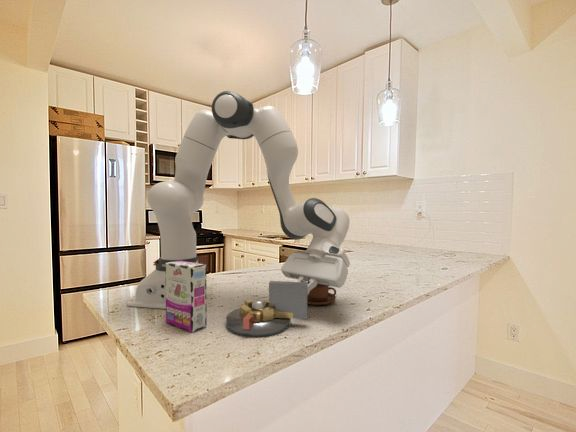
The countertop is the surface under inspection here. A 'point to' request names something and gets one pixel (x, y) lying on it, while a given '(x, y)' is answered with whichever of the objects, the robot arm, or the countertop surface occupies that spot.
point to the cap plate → (255, 323)
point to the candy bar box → (186, 295)
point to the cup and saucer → (321, 295)
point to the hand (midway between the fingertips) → (301, 293)
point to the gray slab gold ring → (281, 302)
